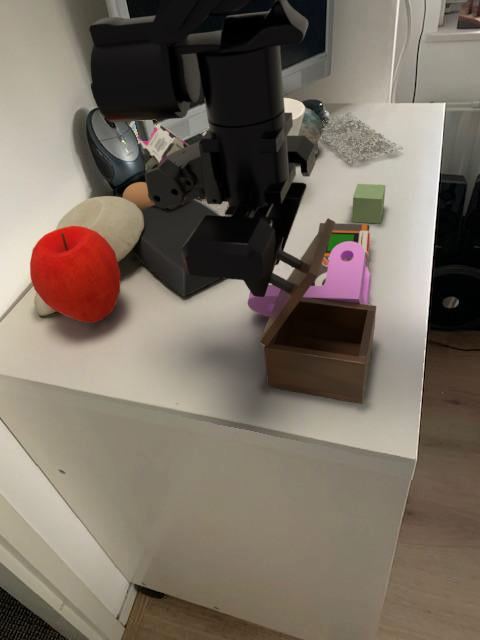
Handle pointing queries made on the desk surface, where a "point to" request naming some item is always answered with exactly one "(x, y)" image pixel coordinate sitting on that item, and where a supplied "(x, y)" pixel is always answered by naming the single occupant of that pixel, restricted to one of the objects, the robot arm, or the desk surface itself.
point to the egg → (138, 195)
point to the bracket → (330, 281)
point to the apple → (76, 273)
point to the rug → (354, 138)
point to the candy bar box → (160, 142)
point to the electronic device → (339, 235)
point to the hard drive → (171, 243)
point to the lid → (296, 280)
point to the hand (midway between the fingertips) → (266, 279)
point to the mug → (311, 127)
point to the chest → (323, 349)
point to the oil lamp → (103, 227)
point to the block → (368, 203)
